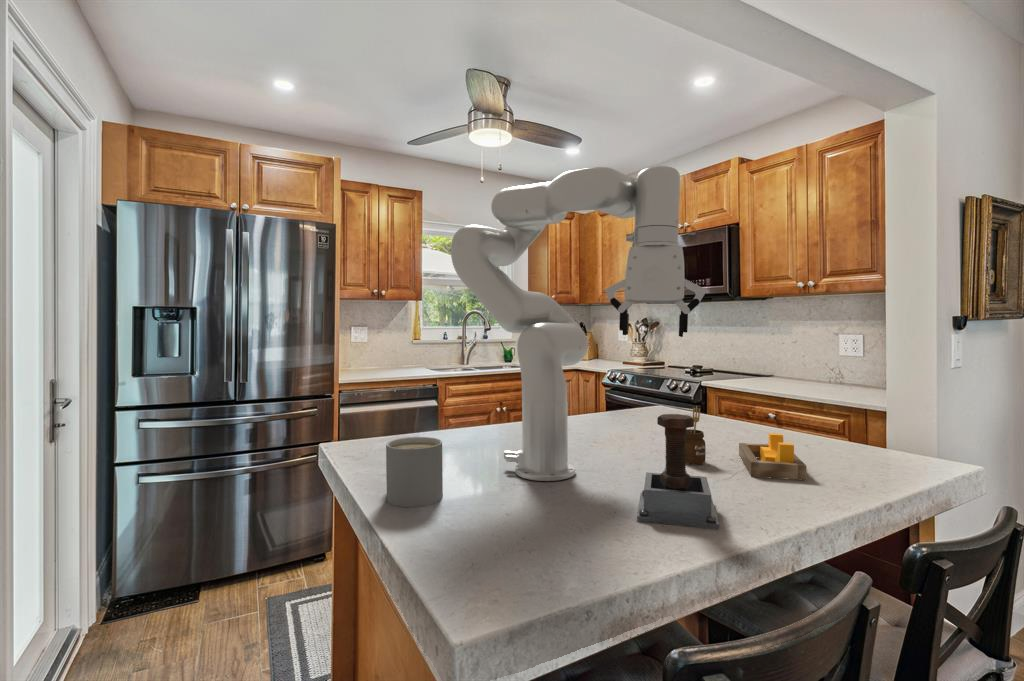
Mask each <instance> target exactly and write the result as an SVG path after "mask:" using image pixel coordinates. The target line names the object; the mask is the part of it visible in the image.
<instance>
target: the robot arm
mask: <svg viewBox="0 0 1024 681" xmlns="http://www.w3.org/2000/svg"><path fill="white" fill-rule="evenodd" d="M680 194H681V175H680V172H679V170H678V169H676V168H675V167H672V166H667V165H657V166H650V167H647V168H644V169H642V170H641V171H640V172H638V174H637V176H636V177H634V176H633V177H632V176H629V175H627V174H625V173H623V172H620V171H618V170H617V169H614V168H612V167H607V166H593V167H586V168H581V169H574V170H568V171H565V172H563V173H561V174H559V175H558V176H557V177H555V178H554V179H553V180H552V181H546V182H538V183H532V184H525V185H517V186H511V187H508V188H507V187H506V188H503V189H501V190H499V191H498V192H496V194H495V195H494V196H493V198H492V201H491V206H490V207H491V213H492V215H493V217H494V219H495V220H496V221H497V222H498V223H499V224H501V225H502V226H505V227H504V229H498V228H494V227H490V226H484V225H480V224H469V225H466V226H461V227H460V228H459V229H458V230H456V232H455V233H454V234H453V237H452V240H451V243H450V244H451V245H450V254H451V255H450V257H451V262H452V266H453V269H454V270H455V272H456V274H457V277H458V278H459V279H460V281H461V282H462V283H463V284H464V285H465V286H466V288H467V289H469V291H470V292H472V294H473V295H474V296H475V297H476V299H478V300H479V302H480V303H481V304H482V306H483V307H484V308H485V309H486V310H487V312H488V313H489V314H490V316H492V318H493V319H494V320H495V321H496V322H497V324H498V325H499V326H500V327H501V328H502V329H504V331H506V332H507V333H512V334H520V335H519V336H518V339H517V344H516V345H517V346H516V352H517V358H518V364H519V369H520V377H521V406H522V410H521V411H522V412H521V414H522V415H521V417H522V418H521V423H522V424H521V425H522V427H521V428H522V430H521V431H522V438H521V440H522V441H521V442H522V443H521V444H522V446H521V447H522V448H521V449H520V450H518V451H514V450H504V452H503V459H504V461H505V462H509V463H516V464H517V465H515V469H514V470H515V472H514V473H515V474H516V475H517V476H518V477H519V478H522V479H525V480H526V479H527V480H530V481H535V482H537V481H539V482H555V481H561V480H562V481H563V480H566V479H570V478H572V477H574V476H575V474H576V467H575V466H574V465H573V464H571V463H569V462H568V461H569V460H568V458H569V457H568V455H569V453H568V452H569V451H568V450H569V447H568V445H569V443H568V441H569V440H568V436H569V435H568V434H569V433H568V432H569V431H568V430H569V428H568V426H569V424H568V423H569V422H568V421H569V420H568V415H569V414H568V412H569V411H568V410H569V409H568V385H567V380H566V376H565V373H564V370H563V367H570V366H573V365H576V364H578V363H580V362H581V361H582V360H583V359H585V356H586V355H587V352H588V348H589V342H588V338H587V336H586V333H585V332H584V330H583V329H582V328H581V326H580V325H579V324H578V323H577V322H576V321H575V319H573V318H572V317H571V316H570V314H569V313H567V311H566V310H565V309H564V308H563V307H562V306H561V305H560V304H559V302H557V301H556V300H555V299H554V298H553V297H551V296H550V295H548V294H545V293H543V292H538V291H531V290H525V289H522V288H520V287H519V286H518V285H517V284H516V283H515V282H513V280H512V279H511V278H510V277H509V276H508V275H507V274H506V273H505V272H504V271H503V270H502V269H501V268H499V267H508V266H510V265H512V264H514V263H515V262H516V261H518V259H519V258H520V257H521V256H522V255H523V254H524V253H525V252H526V251H527V250H528V249H529V247H530V246H531V245H532V244H533V242H534V241H536V239H537V238H538V237H539V236H540V234H541V233H542V232H543V230H544V229H545V228H546V226H547V225H556V224H557V225H558V224H560V223H561V222H562V221H564V220H565V219H566V217H567V215H568V213H572V212H580V211H597V212H602V213H604V214H607V215H610V216H612V217H615V218H619V219H623V220H624V219H625V220H626V219H632V218H634V230H633V231H632V233H626V235H625V236H626V237H625V239H626V240H625V241H626V243H627V242H629V243H632V244H633V246H630V247H629V250H628V254H627V259H626V265H625V275H624V279H622V280H620V281H618V282H616V283H614V284H611V285H610V286H609V287H607V288H605V291H604V292H605V294H606V296H607V299H608V300H609V302H610V304H611V305H612V306H613V307H614V308H615V310H616V311H617V312H618V313H619V322H618V323H619V326H618V327H619V329H618V330H619V331H622V336H627V335H628V334H629V324H630V323H629V322H630V319H629V318H630V314H629V313H628V310H629V309H630V307H632V305H634V303H635V304H675V305H676V306H677V307H678V309H680V310H681V311H680V314H679V318H678V320H679V321H678V323H679V324H678V337H680V338H683V337H684V333H688V324H689V322H688V321H689V314H690V313H691V312H692V311H693V310H694V309H695V308H696V307H697V306H699V304H700V303H701V301H702V299H703V297H704V296H705V294H706V293H707V290H706V288H705V287H702V286H700V285H698V284H696V283H694V282H692V281H690V280H688V279H686V277H685V259H684V258H685V256H684V249H683V246H682V245H679V225H680V224H679V221H680V219H679V218H680ZM497 266H498V267H497ZM685 288H686V289H688V290H689V291H692V292H694V293H695V295H694V297H693V299H692V300H691V301H690V302H689V303H688V304H686V302H684V297H685ZM623 289H624V292H623V294H624V295H623V296H624V299H625V300H624V301H623V302H622V303H621V302H620V301H619V300H618V299H617V296H616V292H619V291H620V290H623Z"/></svg>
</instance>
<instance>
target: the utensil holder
mask: <svg viewBox="0 0 1024 681" xmlns="http://www.w3.org/2000/svg"><path fill="white" fill-rule="evenodd" d="M700 415H701V407H695V406H694V407H693V410H692V415H690V414H688V416H691V417H692V418H693V419H694V427H689V429H688V428H686V439H685V440H686V441H685V442H686V443H685V444H686V445H685V446H686V448H685V449H686V450H685V451H686V452H685V453H686V454H685V455H686V456H685V457H686V458H685V459H686V460H685V461H686V462H685V463H686V464H685V465H690V466H700V465H703V464H705V462H706V457H707V456H706V455H707V454H706V451H707V450H706V441H705V439H704V438H705V434H704V431H703V430H699V429H697V423H698V422H700Z"/></svg>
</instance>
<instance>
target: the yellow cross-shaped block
mask: <svg viewBox="0 0 1024 681" xmlns="http://www.w3.org/2000/svg"><path fill="white" fill-rule="evenodd" d="M768 445H769V447H760V458H759V460H760V459H761V460H762V461H770V462H786V463H794V454H795V444H793V443H792V442H784V435H783V434H782V433H779V432H778V433H774V432H773V433H772V432H769V433H768ZM761 460H760V461H761Z"/></svg>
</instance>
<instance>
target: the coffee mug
mask: <svg viewBox="0 0 1024 681" xmlns="http://www.w3.org/2000/svg"><path fill="white" fill-rule="evenodd" d="M385 465H386V466H385V467H386V469H385V470H386V478H385V479H386V481H385V482H386V502H387V503H388V504H389V505H391V506H395V507H400V508H417V507H418V508H419V507H425V506H430V505H433V504H436V503H438V502H440V501H441V500H442V499H443V497H444V496H443V495H444V493H443V492H444V491H443V489H444V488H443V487H444V486H443V480H444V479H443V476H444V475H443V441H442V440H441V439H439V438H436V437H429V436H428V437H427V436H413V437H412V436H411V437H410V436H409V437H402V438H397V439H393V440H390V441H388V442H387V443H386V445H385Z"/></svg>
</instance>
